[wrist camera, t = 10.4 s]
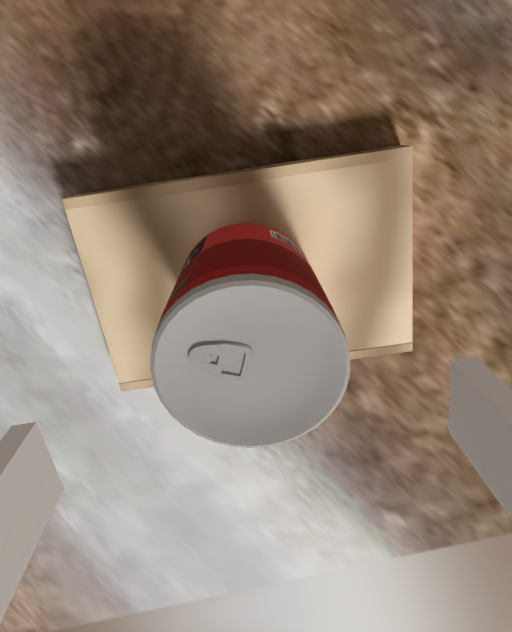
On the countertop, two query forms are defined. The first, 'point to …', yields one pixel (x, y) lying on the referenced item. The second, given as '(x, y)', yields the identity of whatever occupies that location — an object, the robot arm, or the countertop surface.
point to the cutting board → (265, 209)
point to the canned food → (249, 341)
